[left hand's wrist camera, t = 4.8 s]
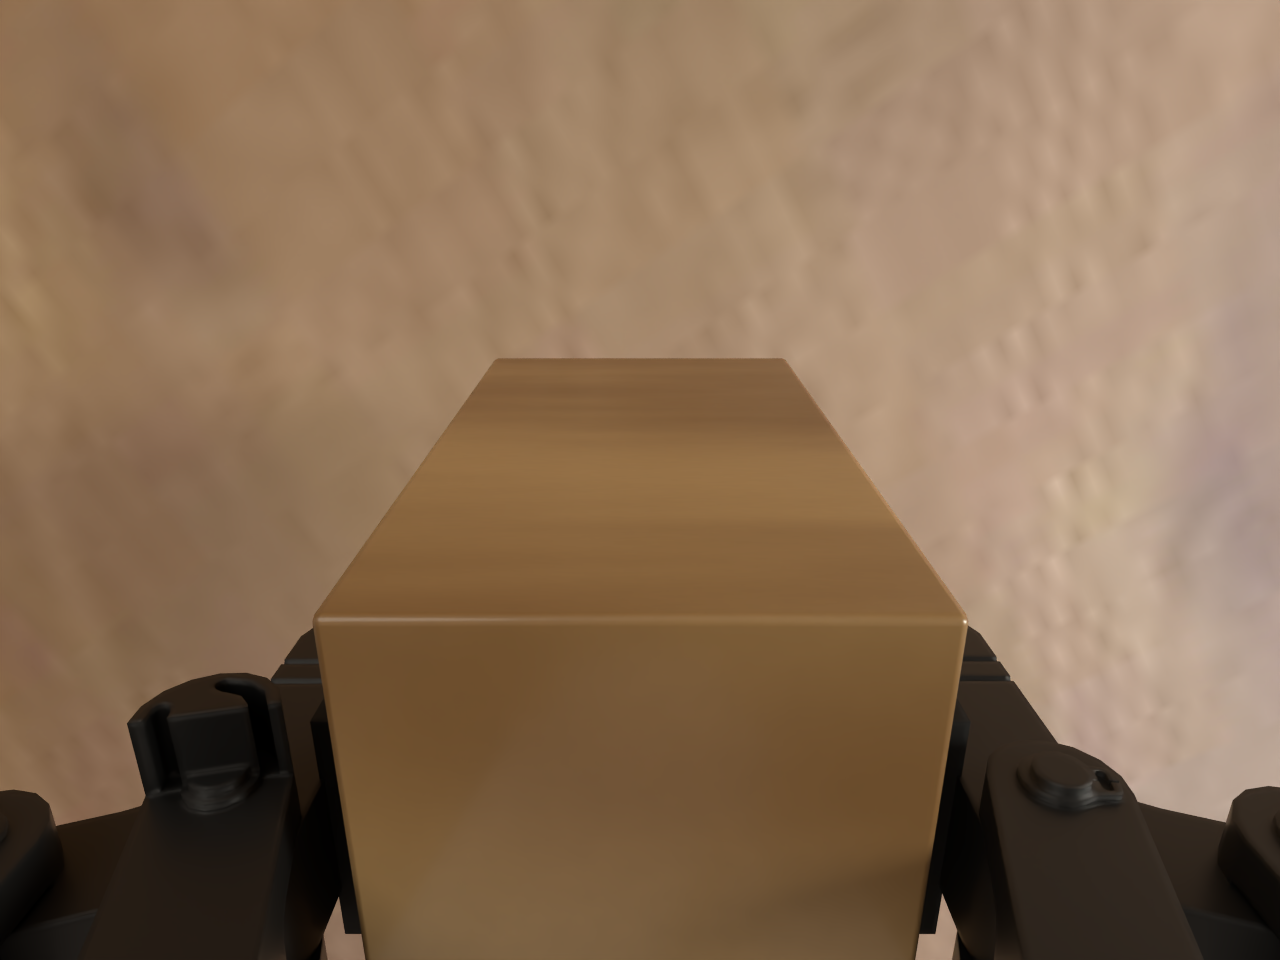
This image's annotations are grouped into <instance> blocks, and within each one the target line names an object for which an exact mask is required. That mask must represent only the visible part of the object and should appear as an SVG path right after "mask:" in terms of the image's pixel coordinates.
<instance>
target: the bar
mask: <svg viewBox="0 0 1280 960" xmlns="http://www.w3.org/2000/svg"><path fill="white" fill-rule="evenodd" d="M967 628H968V619H967V616H966V613H965V612H964V611H963V609H962V608H961V606H960V605H959V604H958V602H957V601H956V599H955V598H954V597H953V595H952V594H951V592H950V591H949V590H948V588H947V587H946V585H945V584H944V583H943V581H942V580H941V578H940V577H939V576H938V574H937V573H936V571H935V570H934V568H933V567H932V566H931V564H930V563H929V561H928V560H927V559H926V557H925V556H924V554H923V553H922V552H921V550H920V549H919V547H918V546H917V545H916V543H915V542H914V540H913V539H912V538H911V536H910V535H909V533H908V532H907V530H906V529H905V528H904V526H903V525H902V523H901V522H900V521H899V519H898V518H897V516H896V515H895V514H894V512H893V511H892V509H891V508H890V507H889V505H888V504H887V502H886V501H885V500H884V498H883V497H882V495H881V494H880V493H879V491H878V490H877V488H876V487H875V485H874V484H873V483H872V481H871V480H870V478H869V477H868V476H867V474H866V473H865V471H864V470H863V469H862V467H861V466H860V464H859V463H858V462H857V460H856V459H855V457H854V456H853V455H852V453H851V452H850V450H849V449H848V448H847V446H846V445H845V443H844V442H843V440H842V439H841V438H840V436H839V435H838V433H837V432H836V431H835V429H834V428H833V426H832V425H831V424H830V422H829V421H828V419H827V418H826V417H825V415H824V414H823V412H822V411H821V410H820V408H819V407H818V405H817V404H816V403H815V401H814V400H813V398H812V397H811V395H810V394H809V393H808V391H807V390H806V388H805V387H804V386H803V384H802V383H801V381H800V380H799V379H798V377H797V376H796V374H795V373H794V372H793V370H792V369H791V367H790V366H789V365H788V363H787V362H786V360H784V359H496V360H495V361H494V362H493V364H492V365H491V367H490V368H489V369H488V371H487V372H486V374H485V375H484V376H483V378H482V379H481V381H480V382H479V383H478V385H477V386H476V388H475V389H474V390H473V392H472V393H471V395H470V396H469V398H468V399H467V400H466V402H465V403H464V405H463V406H462V407H461V409H460V410H459V412H458V413H457V414H456V416H455V417H454V419H453V420H452V421H451V423H450V424H449V426H448V427H447V429H446V430H445V431H444V433H443V434H442V436H441V437H440V438H439V440H438V441H437V443H436V444H435V445H434V447H433V448H432V450H431V451H430V453H429V454H428V455H427V457H426V458H425V460H424V461H423V462H422V464H421V465H420V467H419V468H418V469H417V471H416V472H415V474H414V475H413V476H412V478H411V479H410V481H409V482H408V484H407V485H406V486H405V488H404V489H403V491H402V492H401V493H400V495H399V496H398V498H397V499H396V500H395V502H394V503H393V505H392V506H391V507H390V509H389V510H388V512H387V513H386V515H385V516H384V517H383V519H382V520H381V522H380V523H379V524H378V526H377V527H376V529H375V530H374V531H373V533H372V534H371V536H370V537H369V539H368V540H367V541H366V543H365V544H364V546H363V547H362V548H361V550H360V551H359V553H358V554H357V555H356V557H355V558H354V560H353V561H352V562H351V564H350V565H349V567H348V568H347V570H346V571H345V572H344V574H343V575H342V577H341V578H340V579H339V581H338V582H337V584H336V585H335V586H334V588H333V589H332V591H331V592H330V593H329V595H328V596H327V598H326V599H325V601H324V602H323V603H322V605H321V606H320V608H319V609H318V610H317V612H316V613H315V615H314V618H313V629H314V635H315V642H316V648H317V654H318V661H319V667H320V673H321V680H322V686H323V693H324V699H325V705H326V712H327V718H328V724H329V731H330V737H331V743H332V750H333V756H334V762H335V769H336V775H337V781H338V788H339V794H340V800H341V807H342V813H343V820H344V826H345V832H346V839H347V845H348V851H349V858H350V864H351V870H352V877H353V883H354V889H355V896H356V902H357V908H358V915H359V921H360V928H361V934H362V940H363V947H364V953H365V959H366V960H915V957H916V951H917V944H918V938H919V932H920V925H921V919H922V913H923V906H924V900H925V894H926V888H927V881H928V875H929V869H930V862H931V856H932V850H933V843H934V837H935V831H936V824H937V818H938V812H939V805H940V799H941V793H942V786H943V780H944V774H945V767H946V761H947V755H948V748H949V742H950V736H951V729H952V723H953V717H954V710H955V704H956V698H957V691H958V685H959V679H960V673H961V666H962V660H963V654H964V647H965V641H966V635H967Z"/></svg>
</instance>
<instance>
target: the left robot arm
mask: <svg viewBox="0 0 1280 960" xmlns="http://www.w3.org/2000/svg"><path fill="white" fill-rule="evenodd" d="M127 725H128V729H129V733H130V737H131V741H132V745H133V749H134V752H135V756H136V760H137V764H138V768H139V772H140V776H141V779H142V783H143V787H144V791H145V795H146V796H145V799H144V801H143V804H142V806H140V807H136V808H133V809H129V810H126V811H122V812H118V813H114V814H109V815H104V816H100V817H95V818H91V819H86V820H82V821H77V822H72V823H68V824H63V825H59V826H56V825H55V822H54V818H53V815H52V812H51V809H50V805H49V804H48V803H47V802H46V801H45V800H44V799H42V798H41V797H40V796H39V795H38V794H36V793H31V792H25V791H18V790H7V791H0V960H327V953H326V947H325V941H324V935H323V934H324V931H325V929H326V926H327V924H328V921H329V919H330V917H331V914H332V912H333V909H334V907H335V904H336V902H337V899H338V897H339V899H340V905H341V911H342V917H343V923H344V929H345V934H361V928H360V921H359V915H358V908H357V902H356V896H355V889H354V883H353V877H352V870H351V864H350V858H349V851H348V845H347V839H346V832H345V826H344V820H343V813H342V807H341V800H340V794H339V788H338V781H337V775H336V769H335V762H334V756H333V750H332V743H331V737H330V731H329V724H328V718H327V712H326V705H325V699H324V693H323V686H322V680H321V673H320V667H319V661H318V654H317V648H316V642H315V635H314V629H311V630H310V631H308V632H307V633H305V634H304V635H302V636H301V637H300V639H299V640H298V642H297V643H296V644H295V646H294V647H293V649H292V650H291V651H290V653H289V654H288V656H287V657H286V659H285V663H284V664H281V666H280V667H279V668H278V670H277V671H276V673H275V674H274V676H273V677H272V678H271V681H270V680H269V679H268V678H265V677H261V676H257V675H253V674H249V673H224V674H216V675H212V676H207V677H202V678H198V679H193V680H190V681H188V682H185V683H183V684H180V685H178V686H175V687H173V688H171V689H168V690H166V691H164V692H162V693H161V694H159V695H158V696H156V697H155V698H153V699H152V700H150V701H149V702H147V703H146V704H144V705H143V706H141V707H140V708H139V710H138V711H137V712H136V713H135V714H134V716H133V717H132V718H131V719H130V720H129V722H128V723H127ZM942 894H943V896H944V899H945V901H946V903H947V906H948V908H949V911H950V913H951V916H952V918H953V921H954V923H955V925H956V928H957V935H956V941H955V947H954V952H953V958H952V960H1280V787H1272V786H1266V787H1260V788H1253V789H1247V790H1245V791H1244V792H1242V793H1241V794H1240V795H1239V796H1237V797H1236V798H1235V799H1234V800H1233V802H1232V805H1231V808H1230V811H1229V814H1228V818H1227V821H1226V823H1225V822H1220V821H1216V820H1211V819H1207V818H1202V817H1197V816H1193V815H1188V814H1184V813H1179V812H1174V811H1170V810H1165V809H1161V808H1157V807H1154V806H1150V805H1147V804H1143V803H1139V802H1137V800H1136V797H1135V795H1134V794H1133V792H1132V791H1131V789H1130V788H1129V786H1128V785H1127V784H1126V782H1125V781H1124V779H1123V778H1122V777H1121V776H1120V775H1119V774H1118V773H1116V772H1115V771H1114V770H1112V769H1111V768H1110V767H1109V766H1107V765H1106V764H1105V763H1103V762H1102V761H1101V760H1099V759H1097V758H1095V757H1093V756H1091V755H1088V754H1086V753H1084V752H1082V751H1080V750H1078V749H1076V748H1074V747H1070V746H1066V745H1062V744H1058V743H1057V742H1056V740H1055V739H1054V737H1053V736H1052V734H1051V733H1050V732H1049V730H1048V729H1047V727H1046V726H1045V725H1044V723H1043V722H1042V720H1041V719H1040V718H1039V716H1038V715H1037V713H1036V712H1035V711H1034V709H1033V708H1032V706H1031V705H1030V703H1029V702H1028V701H1027V699H1026V698H1025V696H1024V695H1023V694H1022V692H1021V691H1020V689H1019V688H1018V687H1017V685H1016V684H1015V682H1014V681H1010V675H1009V674H1008V672H1007V671H1006V670H1005V668H1004V667H1003V665H1002V664H1001V663H1000V662H997V660H996V656H995V654H994V653H993V651H992V650H991V649H990V647H989V646H988V644H987V643H986V641H985V640H984V639H983V637H982V636H981V634H980V633H978V632H977V631H975V630H974V629H972V628H971V627H969V626H968V628H967V635H966V641H965V647H964V654H963V660H962V666H961V673H960V679H959V685H958V691H957V698H956V704H955V710H954V717H953V723H952V729H951V736H950V742H949V748H948V755H947V761H946V767H945V774H944V780H943V786H942V793H941V799H940V805H939V812H938V818H937V824H936V831H935V837H934V843H933V850H932V856H931V862H930V869H929V875H928V881H927V888H926V894H925V900H924V906H923V913H922V919H921V925H920V932H919V934H935V933H936V927H937V921H938V915H939V909H940V903H941V897H942Z"/></svg>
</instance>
